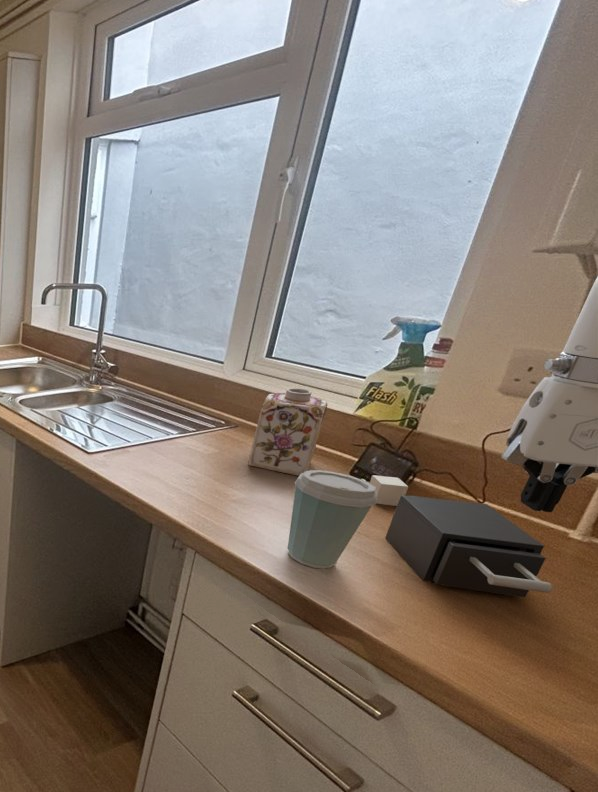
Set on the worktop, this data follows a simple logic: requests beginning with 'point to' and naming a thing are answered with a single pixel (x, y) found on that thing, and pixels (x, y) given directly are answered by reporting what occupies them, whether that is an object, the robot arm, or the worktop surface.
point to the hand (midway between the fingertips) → (535, 506)
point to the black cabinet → (448, 530)
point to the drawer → (490, 568)
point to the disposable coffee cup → (326, 515)
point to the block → (388, 489)
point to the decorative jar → (287, 431)
